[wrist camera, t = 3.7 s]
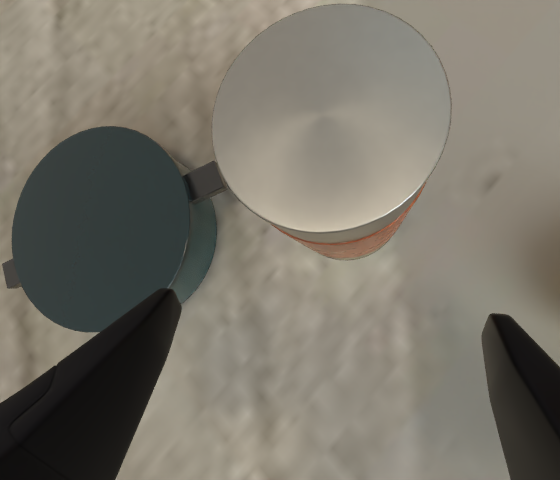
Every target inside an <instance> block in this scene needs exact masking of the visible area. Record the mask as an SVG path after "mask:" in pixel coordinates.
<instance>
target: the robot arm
mask: <svg viewBox="0 0 560 480" xmlns="http://www.w3.org/2000/svg"><path fill="white" fill-rule="evenodd" d="M180 314H181V304H180V302H179V300H178V298H177V295H176V293H175V291H174V290H173V289H169V288H160V289H158V290H157V291H155V292H154V293H153V294H151V295H150V296H149V297H147V298H146V299H145V300H143V301H142V302H140V303H139V304H138V305H136V306H135V307H134V308H132V309H131V310H130V311H128V312H127V313H126V314H124V315H123V316H121V317H120V318H119V319H117V320H116V321H115V322H113V323H112V324H111V325H109V326H108V327H107V328H105V329H104V330H102V331H101V332H100V333H98V334H97V335H96V336H94V337H93V338H92V339H90V340H89V341H88V342H86V343H85V344H83V345H82V346H81V347H79V348H78V349H77V350H75V351H74V352H73V353H71V354H70V355H69V356H67V357H66V358H64V359H63V360H62V361H60V362H59V363H58V364H57V366H53V367H52V368H51V369H49V370H48V371H47V372H45V373H44V374H43V375H41V376H40V377H38V378H37V379H36V380H34V381H33V382H31V383H30V384H29V385H27V386H26V387H24V388H23V389H21V390H20V391H18V392H17V393H15V394H14V395H12V396H11V397H9V398H8V399H6V400H5V401H3V402H2V403H0V480H115V479H116V477H117V474H118V472H119V470H120V467H121V465H122V463H123V460H124V458H125V456H126V453H127V451H128V448H129V446H130V444H131V441H132V439H133V437H134V434H135V432H136V430H137V427H138V425H139V423H140V420H141V418H142V416H143V413H144V411H145V408H146V406H147V404H148V401H149V399H150V397H151V394H152V392H153V390H154V387H155V385H156V383H157V380H158V378H159V375H160V373H161V371H162V368H163V366H164V364H165V361H166V359H167V356H168V353H169V350H170V347H171V344H172V341H173V337H174V334H175V331H176V328H177V324H178V321H179V318H180ZM482 347H483V354H484V362H485V369H486V376H487V384H488V391H489V397H490V402H491V406H492V410H493V414H494V418H495V421H496V425H497V429H498V433H499V437H500V440H501V444H502V448H503V452H504V456H505V459H506V463H507V467H508V471H509V475H510V479H511V480H560V367H559V366H558V365H557V364H556V363H555V362H554V361H553V360H552V359H551V358H550V357H549V356H548V355H547V354H546V352H545V351H544V350H543V349H542V348H541V347H540V346H539V345H538V344H537V343H536V342H535V341H534V340H533V339H532V338H531V337H530V336H529V335H528V334H527V333H526V332H525V331H524V330H523V329H522V328H521V327H520V326H519V325H518V324H517V323H516V321H515V320H514V319H513V318H512V317H510V316H509V315H506V314H495V313H492V314H490V315H489V316H488V319H487V321H486V324H485V327H484V329H483V332H482Z"/></svg>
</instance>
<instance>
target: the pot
mask: <svg viewBox="0 0 560 480" xmlns="http://www.w3.org/2000/svg"><path fill="white" fill-rule="evenodd" d="M225 190H227V186H226V183H225V180H224V178H223V176H222V174H221V172H220V169H219V167H218V165H217V163H216V162H215V161H212V162H210V163H208V164H206V165H204V166H202V167H200V168H198V169H196V170H193V171H191V170H190V169H188V168H187V167H186V166H184V165H183V164H181V163H180V162H178V161H176V160H175V159H173V157H172V156H171V155H170V154H169V152H167V151H166V150H165V149H164V148H163V147H162V146H161V145H160V144H158V143H157V142H155V141H154V140H152V139H151V138H149V137H148V136H146V135H144V134H142V133H140V132H138V131H135V130H132V129H128V128H124V127H116V126H105V127H97V128H91V129H88V130H85V131H82V132H79V133H77V134H75V135H73V136H71V137H69V138H67V139H66V140H64V141H62V142H61V143H59V144H58V145H57V146H56V147H54V148H53V149H52V150H51V151H50V152H49V153H48V154H47V155H46V156H45V157H44V158H43V159H42V160H41V161H40V162H39V164H38V165H37V166H36V168H35V169H34V170H33V172H32V174H31V175H30V177H29V178H28V180H27V182H26V184H25V186H24V188H23V190H22V192H21V195H20V198H19V200H18V203H17V207H16V211H15V215H14V220H13V227H12V253H13V259H11V260H9V261H7V262H5V263H3V264H2V266H3V270H4V275H5V279H6V284H7V288H8V289H10V288H19V287H21V286H22V288H23V289H24V291H25V293H26V295H27V296H28V298H29V299H30V301H31V302H32V303H33V304H34V306H35V307H36V308H37V309H38V310H39V311H40V312H41V313H42V314H43V315H44V316H46V317H47V318H49V319H50V320H51V321H53V322H55V323H57V324H59V325H61V326H63V327H65V328H68V329H71V330H75V331H80V332H101V331H102V330H104V329H105V328H107V327H108V326H109V325H111V324H112V323H113V322H115V321H116V320H117V319H119V318H120V317H121V316H123V315H124V314H126V313H127V312H128V311H130V310H131V309H132V308H134V307H135V306H136V305H138V304H139V303H140V302H142V301H143V300H145V299H146V298H147V297H149V296H150V295H151V294H153V293H154V292H155V291H157V290H158V289H160V288H169V289H173V290H174V291H175V293H176V295H177V298H178V300H179V302H180V304H182V303H183V302H184V301H185V300H186V299H187V298H189V297H190V296H191V295H192V293H193V292H194V291H195V290H196V289H197V288H198V286H199V285H200V283H201V282H202V280H203V279H204V277H205V275H206V273H207V271H208V269H209V267H210V264H211V261H212V258H213V255H214V250H215V246H216V236H217V227H216V217H215V211H214V207H213V204H212V201H211V197H213V196H215V195H217V194H219V193H221V192H223V191H225Z"/></svg>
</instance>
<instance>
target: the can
mask: <svg viewBox="0 0 560 480" xmlns="http://www.w3.org/2000/svg"><path fill="white" fill-rule="evenodd" d="M451 110H452V102H451V93H450V87H449V83H448V79H447V75H446V72H445V70H444V68H443V65H442V63H441V61H440V59H439V57H438V55H437V54H436V52H435V51H434V49H433V48H432V46H431V45H430V44H429V43H428V41H427V40H426V39H425V38H424V37H423V36H422V35H421V34H420V33H419V32H418V31H417V30H416V29H414V28H413V27H412V26H411V25H410V24H408V23H406V22H405V21H403V20H402V19H400V18H398V17H397V16H394V15H392V14H390V13H388V12H385V11H383V10H379V9H376V8H372V7H369V6H363V5H356V4H332V5H323V6H318V7H313V8H309V9H306V10H303V11H300V12H297V13H294V14H292V15H290V16H288V17H286V18H283V19H281V20H280V21H278V22H276V23H275V24H273V25H271V26H270V27H268V28H267V29H265V30H264V31H263V32H262V33H260V34H259V35H258V36H256V37H255V38H254V39H253V40H252V41H251V42H250V43H249V44H248V45H247V46H246V47H245V48H244V49H243V51H242V52H241V53H240V54H239V55H238V57H237V58H236V59H235V61H234V62H233V64H232V65H231V67H230V68H229V70H228V72H227V73H226V75H225V77H224V79H223V81H222V83H221V86H220V89H219V91H218V94H217V97H216V101H215V105H214V110H213V118H212V142H213V149H214V154H215V158H216V161H217V165H218V167H219V169H220V172H221V174H222V176H223V178H224V180H225V182H226V183H227V185H228V187H229V188H230V190H231V191H232V192H233V193H234V195H235V196H236V197H237V198H238V200H239V201H240V202H242V203H243V204H244V205H245V206H246V207H247V208H248V209H249V210H250V211H252V212H253V213H255V214H256V215H258V216H259V217H261V218H262V219H264V220H265V221H267V222H269V223H270V224H271V225H272V226H274V227H275V228H277V229H278V230H280V231H281V232H283V233H284V234H286V235H288V236H289V237H291V238H293V239H295V240H296V241H298V242H300V243H301V244H303V245H305V246H307V247H308V248H310V249H312V250H314V251H316V252H318V253H319V254H322V255H324V256H327V257H330V258H333V259H338V260H354V259H360V258H363V257H366V256H368V255H370V254H372V253H374V252H376V251H377V250H379V249H380V248H381V247H382V246H384V245H385V244H386V243H387V241H388V240H389V239H390V238H391V237H392V236H393V234H394V233H395V232H396V230H397V229H398V227H399V226H400V224H401V223H402V221H403V220H404V218H405V217H406V215H407V213H408V212H409V210H410V209H411V207H412V206H413V204H414V203H415V201H416V200H417V198H418V197H419V195H420V193H421V191H422V189H423V187H424V186H425V184H426V181H427V180H428V178H429V176H430V175H431V173H432V172H433V170H434V169H435V167H436V165H437V163H438V161H439V159H440V157H441V155H442V153H443V150H444V147H445V144H446V141H447V138H448V134H449V129H450V124H451Z"/></svg>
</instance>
